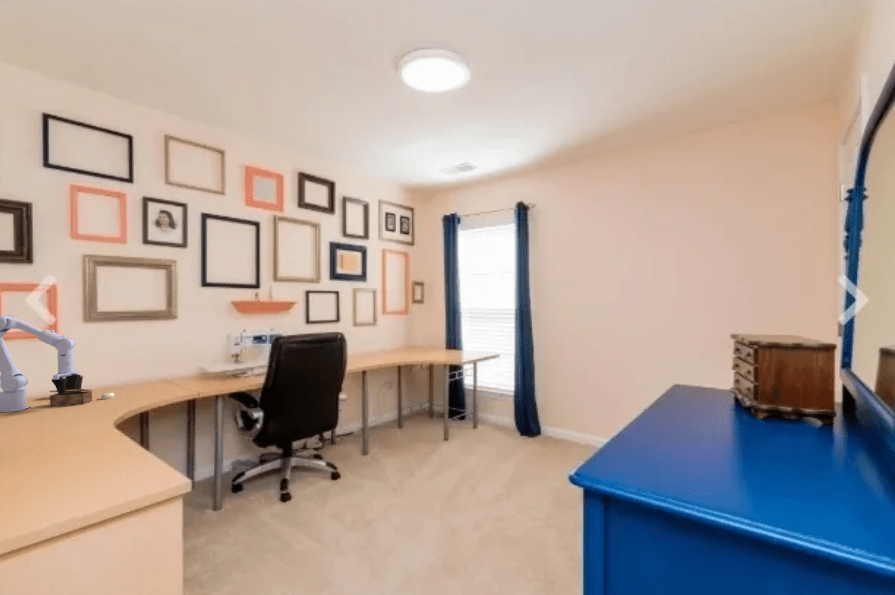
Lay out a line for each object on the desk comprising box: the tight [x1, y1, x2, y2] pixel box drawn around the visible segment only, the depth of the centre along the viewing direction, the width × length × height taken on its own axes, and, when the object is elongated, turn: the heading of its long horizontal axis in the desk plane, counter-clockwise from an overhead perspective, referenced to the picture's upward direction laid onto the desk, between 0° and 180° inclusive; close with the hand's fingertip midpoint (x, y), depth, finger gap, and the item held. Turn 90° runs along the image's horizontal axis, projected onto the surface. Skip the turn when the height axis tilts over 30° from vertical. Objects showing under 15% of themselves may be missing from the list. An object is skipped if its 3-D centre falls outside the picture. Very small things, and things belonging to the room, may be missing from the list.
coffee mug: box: [63, 374, 84, 393], centre depth 224 cm, size 12×9×10 cm
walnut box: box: [49, 390, 93, 406], centre depth 207 cm, size 14×6×5 cm, turn 101°
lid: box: [49, 388, 93, 393], centre depth 207 cm, size 14×7×1 cm, turn 101°
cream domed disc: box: [100, 392, 115, 400], centre depth 218 cm, size 5×5×2 cm
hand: (66, 391), depth 203 cm, fingers open, 7 cm apart
